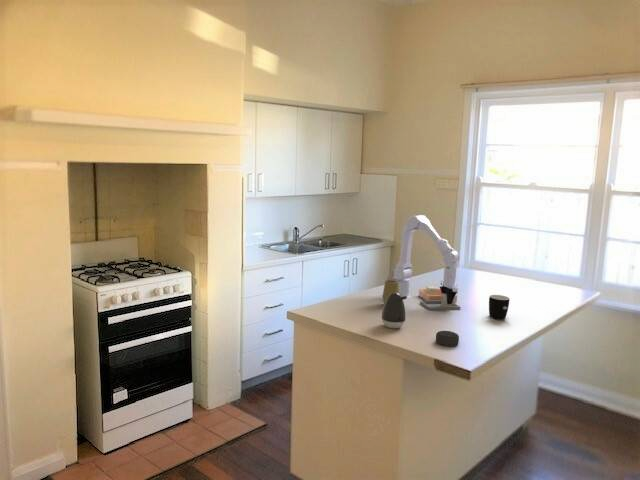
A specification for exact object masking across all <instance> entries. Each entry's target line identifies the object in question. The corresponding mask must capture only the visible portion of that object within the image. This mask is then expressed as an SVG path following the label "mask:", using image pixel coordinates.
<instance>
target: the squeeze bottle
mask: <svg viewBox="0 0 640 480" xmlns="http://www.w3.org/2000/svg"><path fill="white" fill-rule="evenodd" d="M394 271H395V269H391V270H390V272H389V276H386V277H387V279H386V280H385V281H384V285H383V286H384V287H383V292H382V302H383V305H384V304H385V302H386V300H387V298H388V296H389V295H390V294H391V293H393V292H397V293H399V284H398V282H397V277H396V276H395V274H394Z"/></svg>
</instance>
